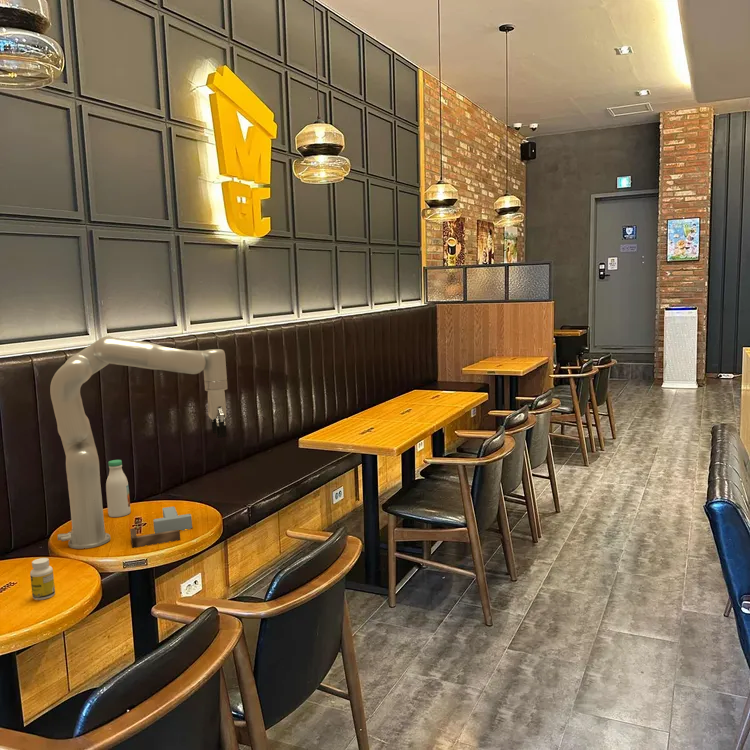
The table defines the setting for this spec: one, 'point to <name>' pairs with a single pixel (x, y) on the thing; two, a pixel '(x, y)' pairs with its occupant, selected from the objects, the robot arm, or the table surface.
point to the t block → (172, 521)
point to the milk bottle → (117, 490)
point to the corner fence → (153, 538)
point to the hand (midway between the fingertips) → (219, 434)
